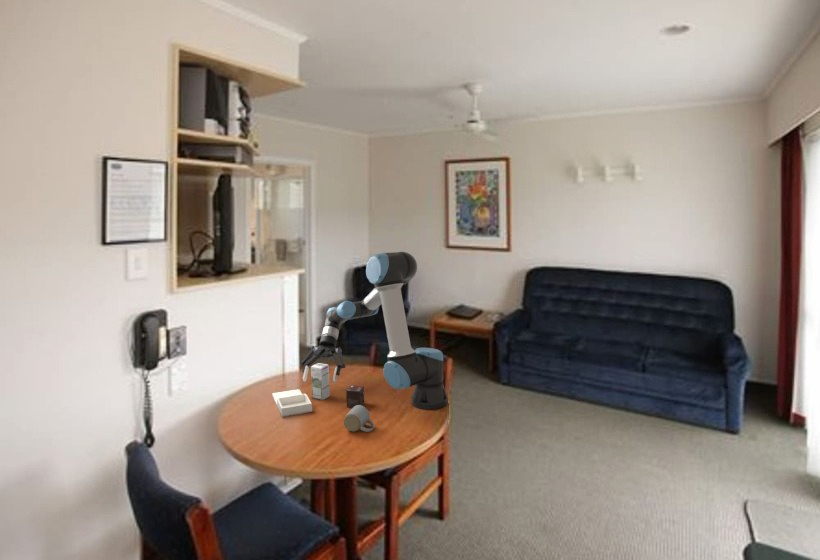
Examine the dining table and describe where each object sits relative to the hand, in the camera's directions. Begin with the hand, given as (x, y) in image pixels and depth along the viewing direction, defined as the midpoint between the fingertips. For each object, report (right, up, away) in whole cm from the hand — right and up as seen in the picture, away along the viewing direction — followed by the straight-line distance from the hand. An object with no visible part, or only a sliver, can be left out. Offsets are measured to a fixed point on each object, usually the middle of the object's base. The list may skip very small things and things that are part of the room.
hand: (318, 381), depth 209 cm
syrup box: (+1, -8, +2) cm, 8 cm away
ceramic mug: (+21, -12, -29) cm, 38 cm away
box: (+17, -9, -7) cm, 20 cm away
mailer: (-11, -8, -4) cm, 14 cm away
